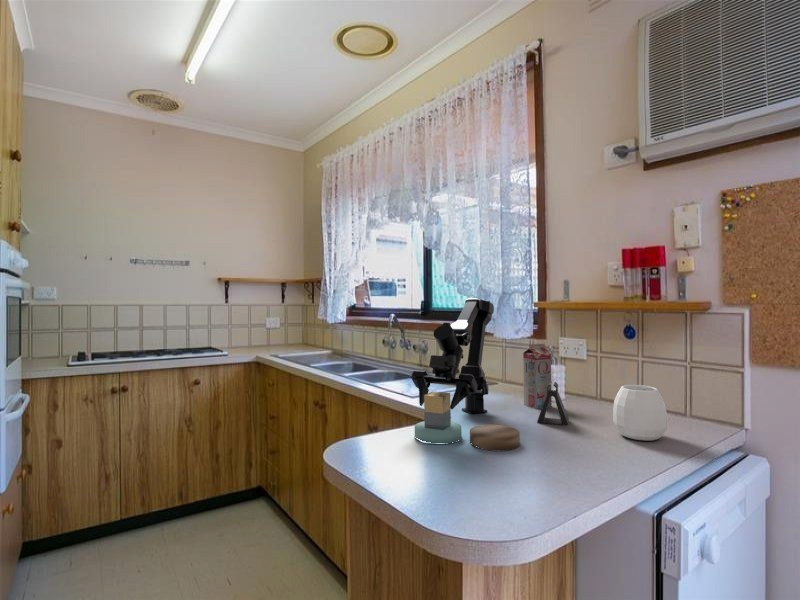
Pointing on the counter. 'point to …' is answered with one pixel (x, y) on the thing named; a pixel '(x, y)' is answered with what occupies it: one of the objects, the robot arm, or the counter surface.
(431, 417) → the block
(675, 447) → the counter surface
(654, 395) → the white faceted vase
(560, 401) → the phone stand
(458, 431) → the stand
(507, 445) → the stand
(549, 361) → the juice carton
